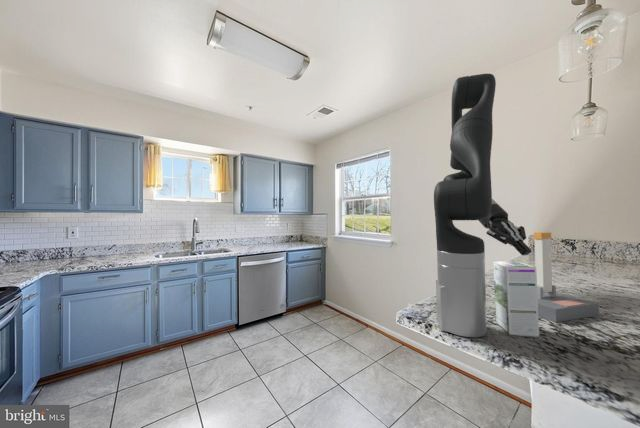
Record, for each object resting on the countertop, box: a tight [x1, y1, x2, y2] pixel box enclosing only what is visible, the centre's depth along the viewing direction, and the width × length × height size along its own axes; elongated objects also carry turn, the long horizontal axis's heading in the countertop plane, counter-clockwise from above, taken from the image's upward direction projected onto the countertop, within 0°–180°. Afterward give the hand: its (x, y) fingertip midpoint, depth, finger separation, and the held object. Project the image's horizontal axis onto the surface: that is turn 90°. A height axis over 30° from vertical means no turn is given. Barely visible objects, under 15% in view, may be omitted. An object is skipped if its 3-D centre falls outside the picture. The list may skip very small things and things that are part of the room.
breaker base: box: [537, 284, 600, 323], centre depth 63 cm, size 14×14×6 cm
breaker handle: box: [533, 231, 553, 293], centre depth 64 cm, size 2×3×16 cm, turn 103°
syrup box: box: [492, 260, 540, 338], centre depth 52 cm, size 6×6×14 cm
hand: (527, 253), depth 67 cm, fingers closed
